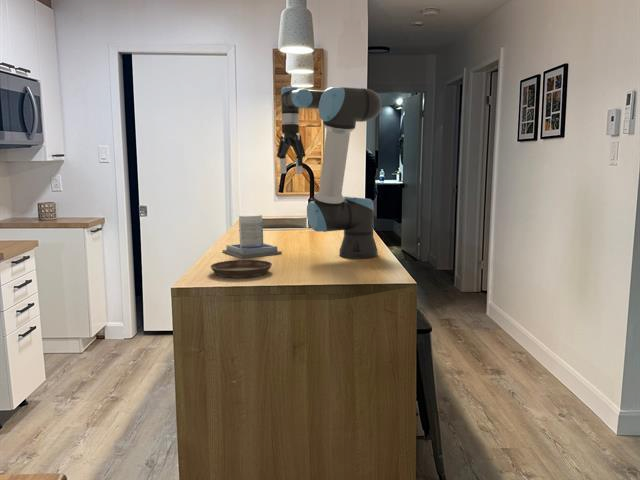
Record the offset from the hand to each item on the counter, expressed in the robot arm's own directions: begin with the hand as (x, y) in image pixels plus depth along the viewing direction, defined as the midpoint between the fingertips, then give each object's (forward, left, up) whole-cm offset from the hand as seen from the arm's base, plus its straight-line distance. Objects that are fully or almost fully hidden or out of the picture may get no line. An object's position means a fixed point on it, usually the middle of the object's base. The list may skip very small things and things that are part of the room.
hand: (291, 173), depth 246 cm
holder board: (-8, +24, -32) cm, 41 cm away
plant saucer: (-42, +45, -32) cm, 69 cm away
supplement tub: (-8, +24, -31) cm, 40 cm away
